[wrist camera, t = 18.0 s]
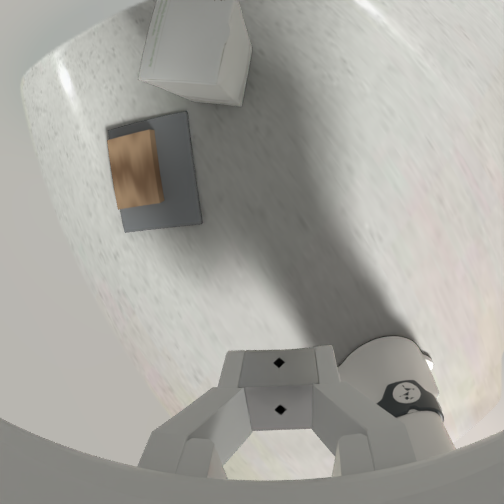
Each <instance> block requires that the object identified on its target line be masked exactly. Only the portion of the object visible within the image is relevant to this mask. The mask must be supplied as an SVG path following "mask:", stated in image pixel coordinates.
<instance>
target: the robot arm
mask: <svg viewBox="0 0 504 504" xmlns="http://www.w3.org/2000/svg"><path fill="white" fill-rule="evenodd" d="M432 368H433V361H432V359H431V358H430V357H428V356H426V355H424V354H422V353H421V351H420V349H419V348H418V346H417V345H416V344H415V343H414V342H413V341H411V340H409V339H407V338H404V337H399V336H388V337H382V338H378V339H375V340H372V341H370V342H368V343H366V344H364V345H362V346H360V347H359V348H357V349H356V350H355V351H354V352H352V353H351V354H350V355H349V356H348V357H347V358H346V359H345V361H344V362H343V363H342V364H341V365H340V366H339V367H337V364H336V359H335V354H334V350H333V346H332V345H324V346H316V347H312V348H299V349H284V350H246V351H245V350H238V351H228V352H227V354H226V357H225V361H224V365H223V369H222V372H221V376H220V380H219V384H218V387H212V388H211V389H210V390H208V391H207V392H206V393H205V394H203V395H202V396H201V397H199V398H198V399H197V400H195V401H194V402H193V403H191V404H190V405H189V406H187V407H186V408H185V409H183V410H182V411H181V412H179V413H178V414H176V415H175V416H174V417H172V418H171V419H169V420H168V421H167V422H165V423H164V424H162V425H161V426H160V427H159V428H157V429H156V430H154V431H153V432H152V433H151V436H150V438H149V440H148V443H147V445H146V447H145V450H144V452H143V455H142V457H141V459H140V462H139V464H138V466H137V467H135V466H131V465H127V464H123V463H118V462H115V461H111V460H107V459H104V458H100V457H97V456H93V455H90V454H87V453H83V452H81V451H77V450H74V449H72V448H69V447H66V446H63V445H61V444H58V443H55V442H53V441H50V440H48V439H45V438H42V437H40V436H38V435H35V434H33V433H31V432H28V431H26V430H24V429H22V428H20V427H17V426H16V425H13V424H11V423H9V422H7V421H5V420H3V419H1V418H0V504H504V430H503V431H501V432H499V433H497V434H494V435H492V436H490V437H487V438H485V439H482V440H480V441H477V442H475V443H472V444H470V445H467V446H464V447H461V448H459V449H456V448H455V446H454V444H453V442H452V440H451V439H450V436H449V434H448V432H447V430H446V428H445V426H444V424H443V422H444V416H443V414H442V409H441V407H440V404H439V403H438V402H437V397H438V396H439V391H438V388H437V385H436V383H435V380H434V377H433V375H432V373H431V370H432ZM286 429H312V430H313V431H314V432H315V434H316V435H317V436H318V437H319V438H320V440H321V441H322V442H323V443H324V444H325V445H326V447H327V448H328V449H329V450H330V451H331V452H332V453H333V455H334V456H335V462H334V467H333V472H332V477H328V478H317V479H303V480H279V481H254V480H229V479H228V478H227V476H226V473H225V471H224V468H223V465H224V464H225V463H226V462H227V461H228V460H229V459H230V457H231V456H232V455H233V454H234V453H235V452H236V451H237V450H238V448H239V447H240V446H241V445H242V444H243V443H244V442H245V440H246V439H247V438H248V437H249V436H250V435H251V433H252V431H263V430H286Z"/></svg>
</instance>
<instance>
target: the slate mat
mask: <svg viewBox="0 0 504 504" xmlns="http://www.w3.org/2000/svg"><path fill="white" fill-rule="evenodd" d="M145 130H154V131H155V139H156V147H157V154H158V162H159V169H160V175H161V182H162V188H163V195H164V201H163V202H161V203H157V204H150V205H143V206H137V207H130V208H124V209H120V212H121V217H122V222H123V227H124V231H125V233H126V232H134V231H143V230H151V229H159V228H168V227H177V226H186V225H196V224H202V218H201V212H200V205H199V198H198V192H197V185H196V178H195V170H194V163H193V156H192V148H191V140H190V132H189V124H188V115H187V111H185V112H180V113H175V114H171V115H166V116H162V117H157V118H153V119H149V120H145V121H141V122H137V123H133V124H129V125H126V126H122V127H118V128H115V129H112V130H108V133H109V140H110V139H114V138H118V137H121V136H125V135H129V134H133V133H137V132H141V131H145Z"/></svg>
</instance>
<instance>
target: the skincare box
mask: <svg viewBox="0 0 504 504" xmlns="http://www.w3.org/2000/svg"><path fill="white" fill-rule="evenodd" d="M251 54H252V45H251V42H250V39H249V35H248V32H247V28H246V25H245V21H244V18H243V14H242V11H241V8H240V4H239V1H238V0H157V1H156V5H155V8H154V12H153V15H152V19H151V22H150V26H149V30H148V34H147V38H146V42H145V47H144V51H143V56H142V60H141V66H140V71H139V76H138V80H141V81H143V82H146V83H149V84H151V85H154V86H157V87H159V88H162V89H164V90H167V91H169V92H171V93H174V94H176V95H179V96H181V97H183V98H186V99H188V100H190V101H193V102H202V103H212V104H222V105H231V106H239V107H241V106H242V102H243V97H244V92H245V87H246V81H247V76H248V71H249V65H250V60H251Z"/></svg>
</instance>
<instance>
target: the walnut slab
mask: <svg viewBox="0 0 504 504" xmlns="http://www.w3.org/2000/svg"><path fill="white" fill-rule="evenodd" d="M107 142H108V150H109V158H110V165H111V171H112V178H113V184H114V190H115V196H116V201H117V207H118V209H124V208H130V207H137V206H143V205H150V204H157V203H161V202H163V201H164V195H163V188H162V182H161V175H160V169H159V162H158V154H157V147H156V139H155V131H154V130H145V131H141V132H137V133H133V134H129V135H125V136H121V137H118V138H114V139H110V140H107Z"/></svg>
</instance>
